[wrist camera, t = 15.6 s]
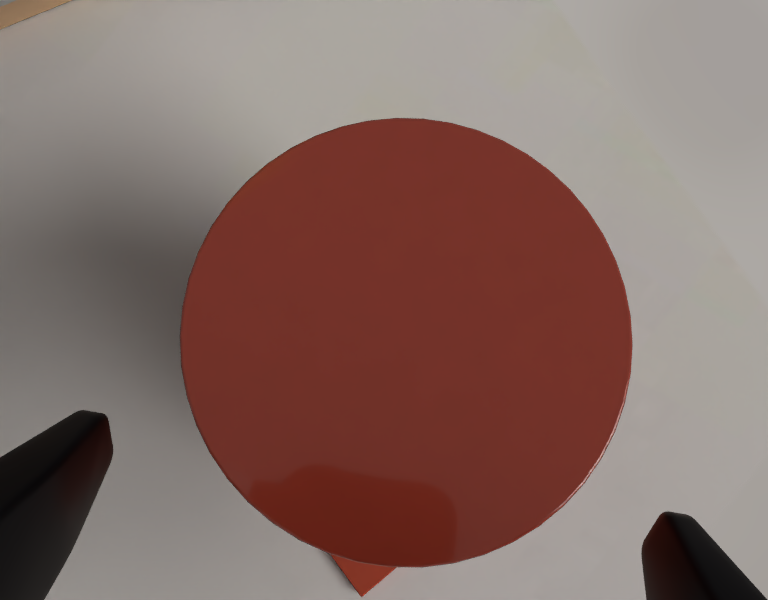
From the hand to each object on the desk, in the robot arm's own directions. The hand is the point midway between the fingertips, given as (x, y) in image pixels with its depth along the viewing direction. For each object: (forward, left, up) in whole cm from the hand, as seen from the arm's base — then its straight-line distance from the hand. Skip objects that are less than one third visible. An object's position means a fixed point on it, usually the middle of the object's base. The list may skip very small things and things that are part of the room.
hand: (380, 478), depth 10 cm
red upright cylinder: (+1, -2, -9) cm, 9 cm away
